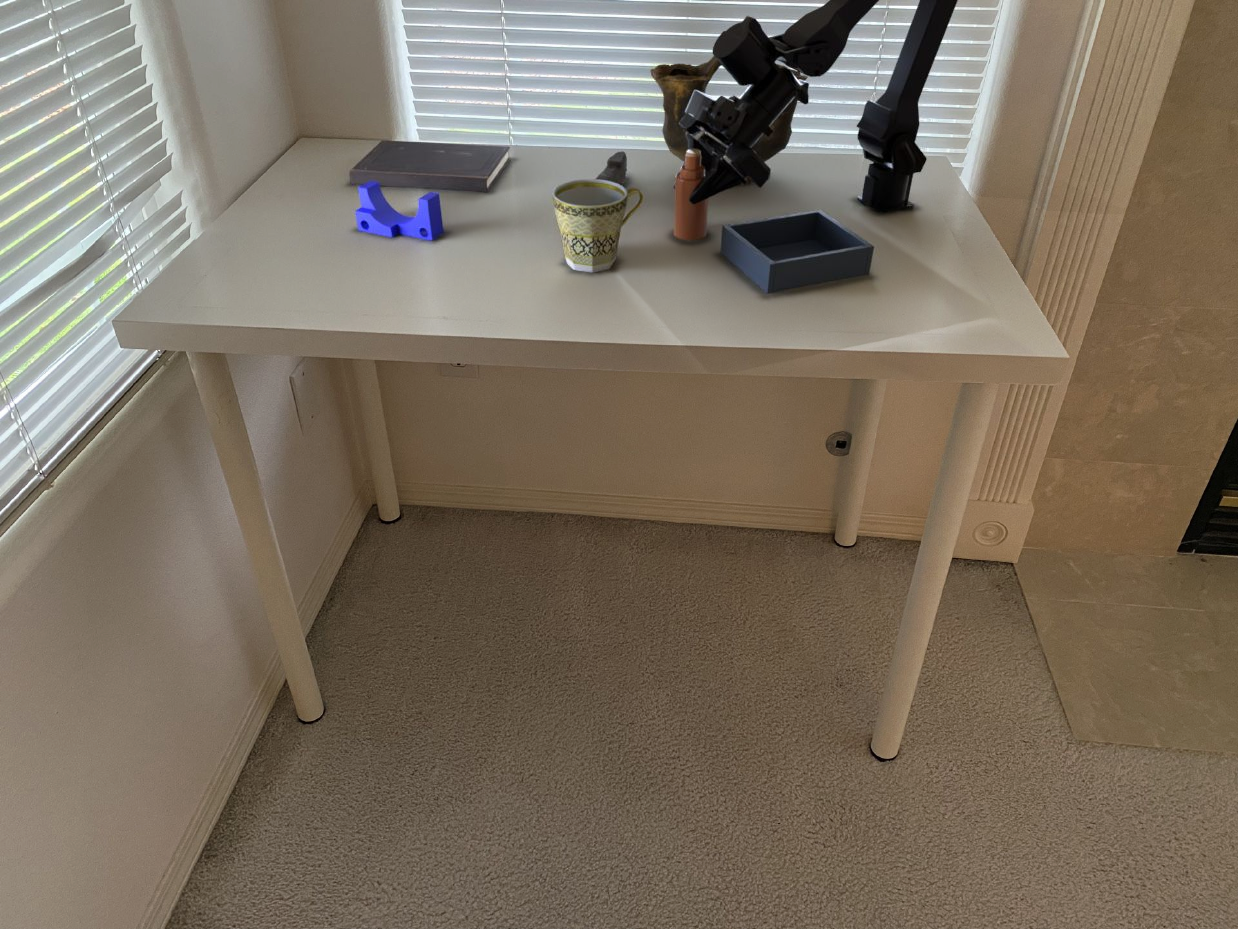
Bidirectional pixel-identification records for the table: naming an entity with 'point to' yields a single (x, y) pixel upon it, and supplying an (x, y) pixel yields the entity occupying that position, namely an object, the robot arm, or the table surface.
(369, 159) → the hardcover book
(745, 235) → the bin
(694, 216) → the bottle
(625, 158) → the hand tool
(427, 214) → the blue mounting bracket
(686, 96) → the pottery vessel
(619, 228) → the ceramic cup
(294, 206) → the table surface
